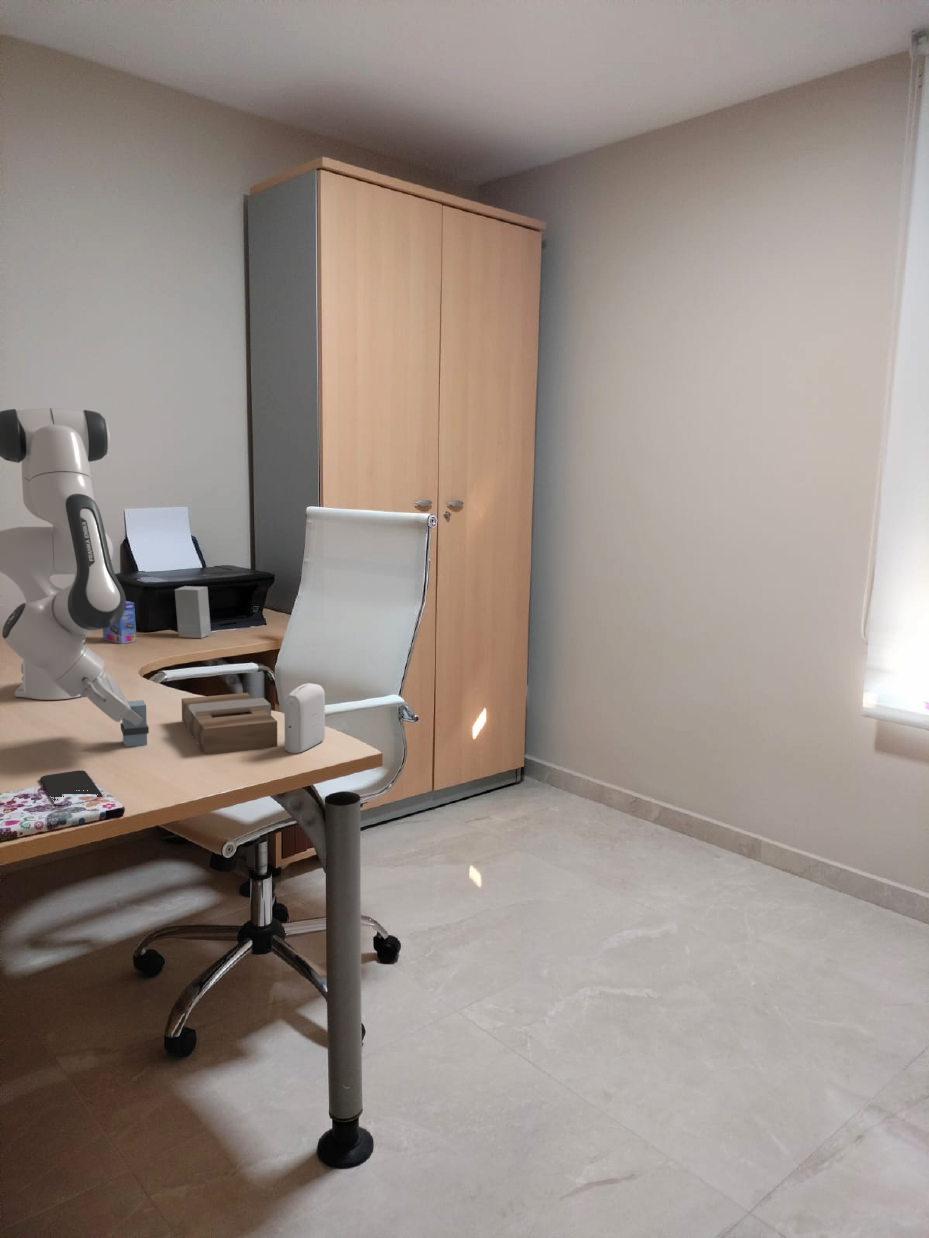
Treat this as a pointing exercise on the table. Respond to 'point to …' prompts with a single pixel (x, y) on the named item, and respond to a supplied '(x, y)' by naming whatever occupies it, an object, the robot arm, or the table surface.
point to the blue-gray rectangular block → (132, 732)
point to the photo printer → (304, 717)
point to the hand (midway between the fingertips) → (137, 718)
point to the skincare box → (192, 612)
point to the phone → (69, 784)
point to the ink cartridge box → (123, 627)
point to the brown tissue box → (229, 726)
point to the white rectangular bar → (230, 707)
